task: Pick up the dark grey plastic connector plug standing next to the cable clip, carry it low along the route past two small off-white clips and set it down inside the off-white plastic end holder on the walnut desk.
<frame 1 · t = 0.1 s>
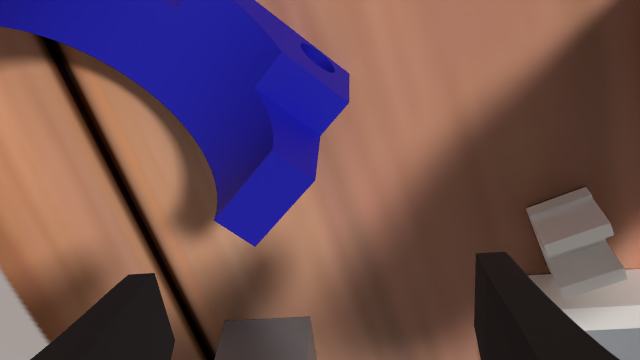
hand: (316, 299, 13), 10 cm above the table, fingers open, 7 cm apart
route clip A: (566, 228, 23), on the table
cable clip: (178, 16, 20), on the table
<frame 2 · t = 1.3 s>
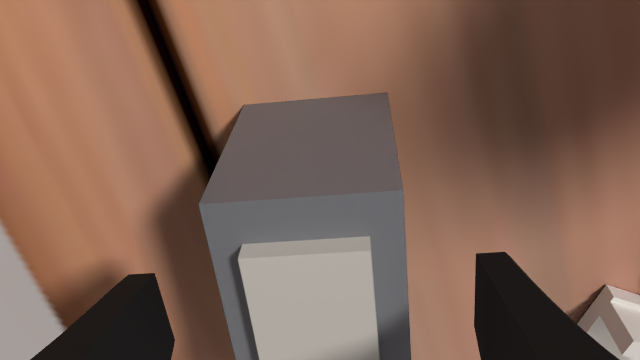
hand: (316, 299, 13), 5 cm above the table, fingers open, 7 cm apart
connector plug: (326, 192, 17), on the table
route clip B: (611, 330, 19), on the table
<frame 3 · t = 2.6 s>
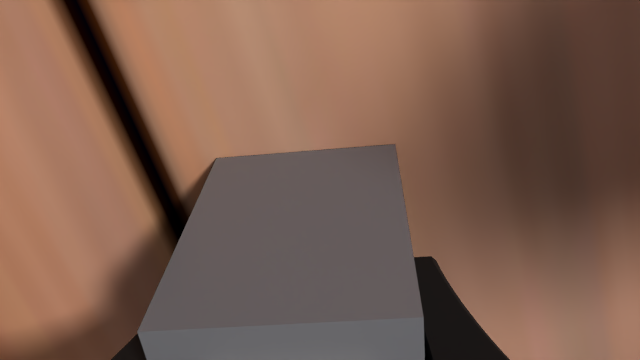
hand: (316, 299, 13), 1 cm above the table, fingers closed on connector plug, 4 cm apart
connector plug: (319, 260, 14), on the table, touching gripper
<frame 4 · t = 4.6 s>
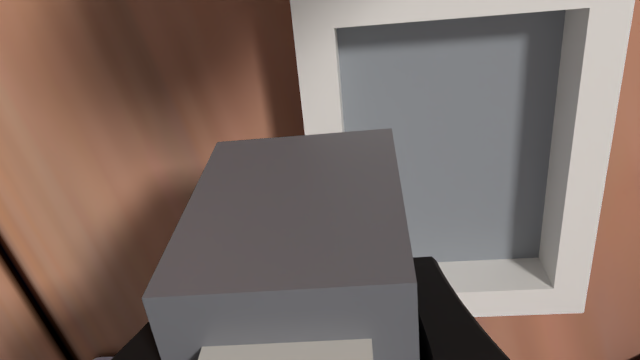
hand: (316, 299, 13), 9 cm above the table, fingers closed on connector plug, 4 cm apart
end holder: (446, 144, 21), on the table
connector plug: (317, 244, 14), point 7 cm above the table, touching gripper
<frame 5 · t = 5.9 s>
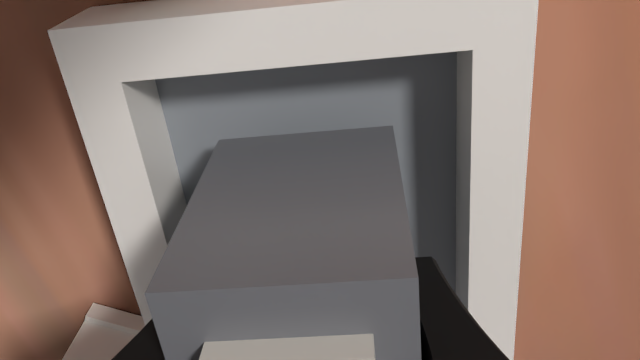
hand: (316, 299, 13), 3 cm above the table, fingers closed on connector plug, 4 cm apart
end holder: (322, 217, 16), on the table
connector plug: (318, 241, 15), point 2 cm above the table, touching gripper
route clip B: (123, 348, 19), on the table
when the fingers open (3 cm above the table, at t = 6.7 s): connector plug drops 1 cm, resting on end holder.
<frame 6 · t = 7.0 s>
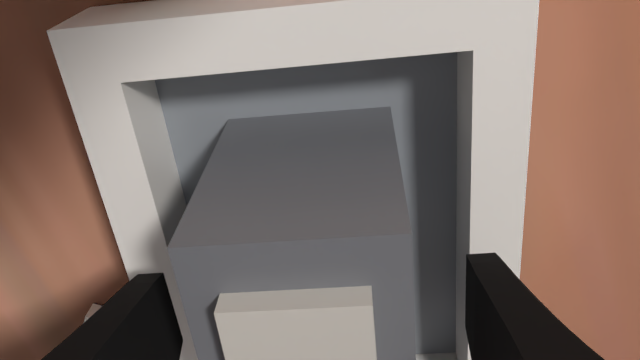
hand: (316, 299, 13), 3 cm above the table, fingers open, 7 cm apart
end holder: (322, 217, 16), on the table
connector plug: (320, 216, 16), resting on end holder
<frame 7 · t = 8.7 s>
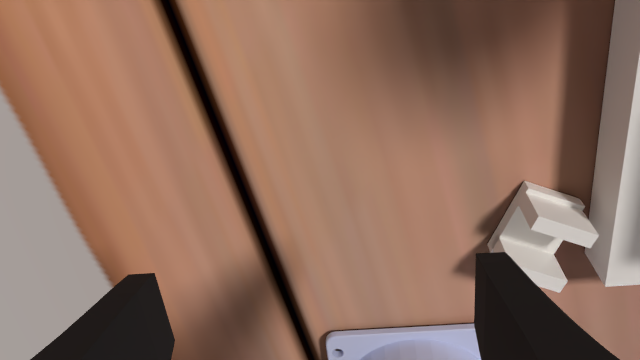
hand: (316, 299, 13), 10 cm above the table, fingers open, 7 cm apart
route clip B: (532, 222, 23), on the table
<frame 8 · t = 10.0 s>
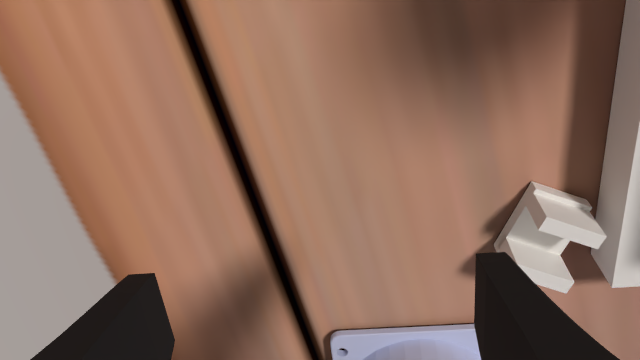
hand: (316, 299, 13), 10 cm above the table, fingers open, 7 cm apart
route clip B: (538, 222, 23), on the table
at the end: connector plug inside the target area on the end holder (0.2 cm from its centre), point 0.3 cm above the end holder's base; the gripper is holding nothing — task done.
